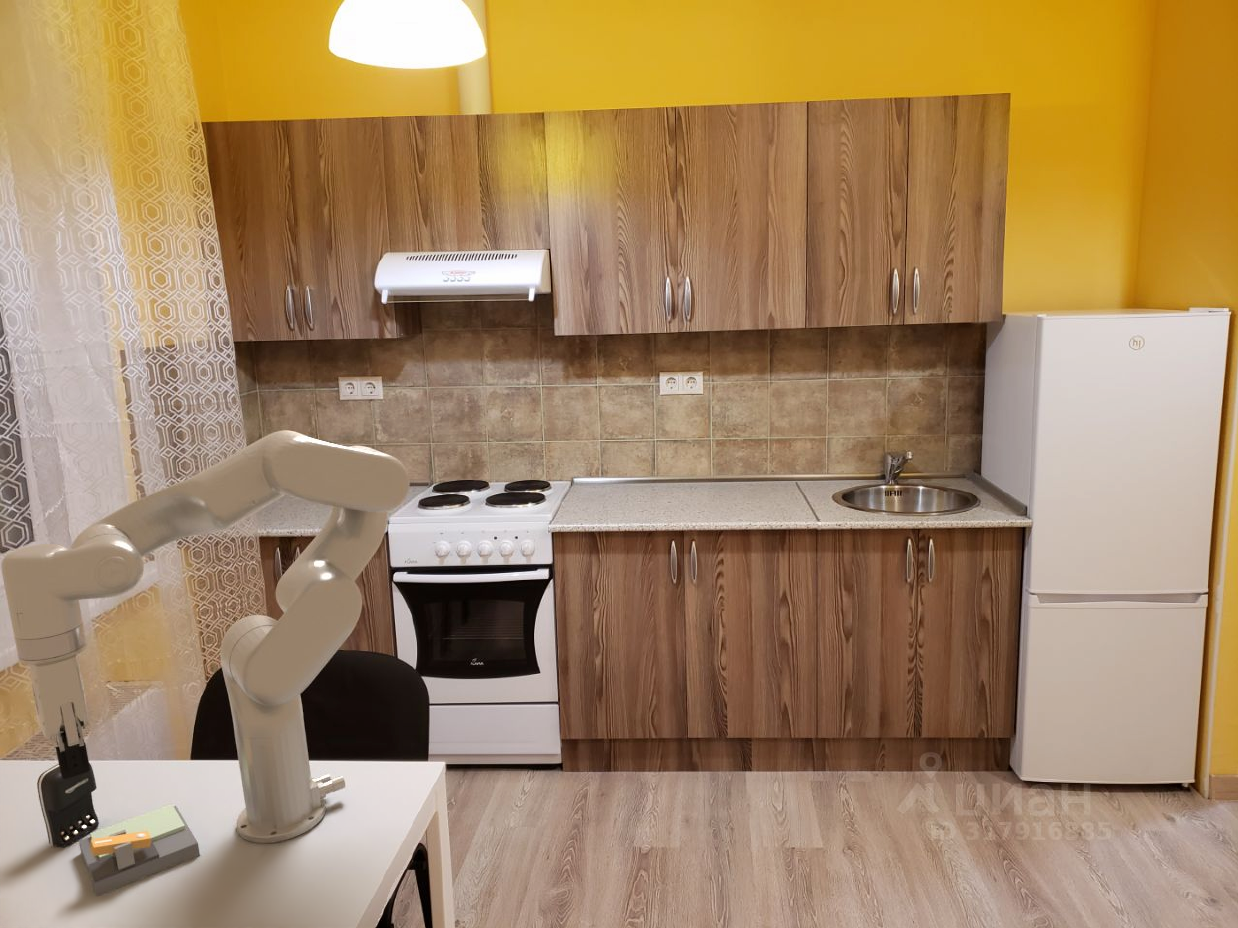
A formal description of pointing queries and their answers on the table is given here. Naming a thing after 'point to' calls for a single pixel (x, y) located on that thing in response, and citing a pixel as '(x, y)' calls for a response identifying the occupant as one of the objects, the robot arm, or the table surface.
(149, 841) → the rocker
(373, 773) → the table surface
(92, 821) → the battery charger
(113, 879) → the grey holder stand
